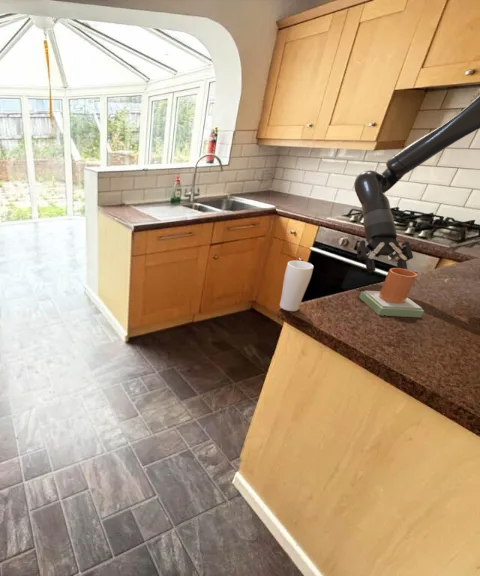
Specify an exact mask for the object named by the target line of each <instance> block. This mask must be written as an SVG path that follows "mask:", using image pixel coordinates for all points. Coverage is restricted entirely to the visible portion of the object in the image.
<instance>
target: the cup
mask: <svg viewBox="0 0 480 576" xmlns="http://www.w3.org/2000/svg"><path fill="white" fill-rule="evenodd" d="M417 277H418V273H417V272H415V271H413V270H410V269H408V268H407V269H402V268H398V267H392V268H390V269H389V270H388V272H387V274H386V277H385V279H384V281H383V284H382V286H381V289H380V290H379V291H380V293H379V297H380V298H381V299H383V300H385V301H387V302H391V303H397V304H401V303H404V302H405V300H406V299H407V298H409V295H410V292H411V291H412V288H413V286H414V284H415V281H416V280H417Z"/></svg>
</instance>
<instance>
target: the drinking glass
mask: <svg viewBox="0 0 480 576" xmlns="http://www.w3.org/2000/svg"><path fill="white" fill-rule="evenodd" d="M313 271H314V265H313V264H312V263H311V262H307V261H304V260H289V261H287V265H286V267H285V272H284V277H283V282H282V290H281V296H280V302H279V307H280V309H282V310H284V311H286V312H297V311H298V310H299V309H300V305H301V303H302V300H303V298H304V296H305V293H306V291H307V288H308V286H309V284H310V281H311V279H312V275H313Z"/></svg>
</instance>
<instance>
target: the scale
mask: <svg viewBox="0 0 480 576" xmlns="http://www.w3.org/2000/svg"><path fill="white" fill-rule="evenodd" d="M380 291H381V290H364V291H360V294H359V297H358V298H359V300H361V301H362V302H363V303H364V304H366V305H367V306H368V308H370V310H372V311H373V312H375V313H376V314H377V315H378V316H384V315H385V316H386V317H400V318H401V317H403V318H404V317H405V318H422V317H423V314H424V312H425V310H424V309H423V308H422V306H421V305H418V304H417V303H415V302H414V301H413V300H412V299H410V298H409V297H407V299H406V300H405V302H404V303H401V304H397V303H391V302H387V301H385V300H383V299H381V298H380V297H379V293H380Z"/></svg>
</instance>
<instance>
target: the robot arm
mask: <svg viewBox="0 0 480 576" xmlns="http://www.w3.org/2000/svg"><path fill="white" fill-rule="evenodd" d="M477 130H480V87H479V88H477V89H476V91H475V92H474V93H473V95H472V96H471V98H470V102H469V104H468V105H467V106H466V107H465V108H464V109H462V110H461V111H460V112H459V113H458V114H456V115H454V116H453V117H452V118H450V119H449V120H448V121H446V122H445V123H444V124H441V126H439V127H437V128H435V129H434V130H431V131H430V132H429V133H426V134H425V135H423V136H421V137H420V138H418V139H416V140H414V141H412V142H411V143H410V144H408V145H406V146H405V147H404V148H403V149H401V150H399V151H398V152H397V153H396V154H394V155H393V156H391V157H390V158H389V159H387V161H386V162H385V166H386V169H384V170H383V171H382V172H381V173H379V172H377V171H375V170H364V171H363V172H360V173H359V174H358V175H357V177H356V178H355V180H354V184H353V186H354V187H353V188H354V191H355V194H356V197H357V199H358V201H359V203H360V205H361V210H362V217H363V228H364V229H363V230H364V235H365V240H366V241H365V240H364V239H361V240H359V242H357V243H356V256H357V260H359V261H364V262H365V269H366V271H367V272H368V273H373V272H375V271H376V264H375V259H374V257H375V256H378V257H379V256H384V257H389V258H390V259H393V260H394V261H395V262H396V268H402V269H407V270H408V264H407V262H408V261H410V260H412V259H413V258H414V254H413V251H412V248H411V244H410V242H409V241H408V240H406V241H404V242H399V241H398V240H397V235H398V234H397V229H396V223H395V219H394V215H393V212H392V210H391V205H390V199H389V198H388V196H387V195H385V193H387V192H388V191H389V190H391V189H392V188H393V187H394V186H395V185H396V184H397V183H398V182H399V181H400V180H401V179H402V178H403V177H404V176H405V175H406V174H408V173H409V172H412V171H413V170H414V169H416V168H417V167H419V166H420V165H422V164H423V163H425V162H426V161H428V160H430V159H431V158H433V157H434V156H435V155H437V154H439V153H440V152H442V151H443V150H445V149H447V148H448V147H450V146H451V145H453V144H454V143H457V142H458V141H460V140H461V139H463V138H465V137H467V136H468V135H470V134H472V133H474V132H475V131H476V132H477ZM367 249H368V250H369V251H368V253H367Z"/></svg>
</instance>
